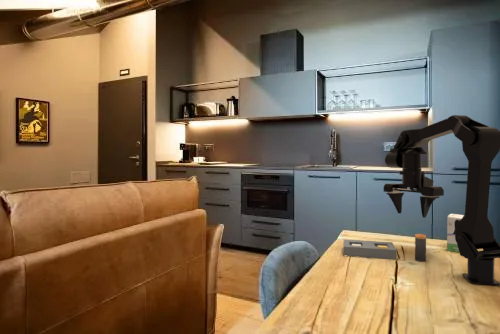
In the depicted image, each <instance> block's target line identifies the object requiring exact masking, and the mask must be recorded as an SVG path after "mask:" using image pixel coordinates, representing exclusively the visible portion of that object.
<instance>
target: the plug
mask: <svg viewBox="0 0 500 334" xmlns="http://www.w3.org/2000/svg"><path fill="white" fill-rule="evenodd" d="M414 235H415V236H414V237H415V238H414V261H415V262H421V263H423V262H427V235H426V234H424V233H415V234H414Z"/></svg>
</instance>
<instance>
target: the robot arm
mask: <svg viewBox="0 0 500 334" xmlns="http://www.w3.org/2000/svg"><path fill="white" fill-rule="evenodd" d="M450 134H453V135H454V137H455V138H456V139H458V140H460V141H461V145H462V152H463V154H464V156H465V158H466V159H467V162H468V164H467V179H466V191H465V206H464V207H465V208H464V214H463V215H464V216H463V218H462V219H459V220H455V223H454V224H455V230H454V233H453V234H454V235H455V240H456V242H457V245H458V249H459V252H458V253H459V255H460V256H461V257H462V258H465V259H467V273H466V272H465V273H464V272H462V273H461V274H462V276H463V277H464V278H465V279H466V280H467V281H468V282H469V283H471V284H476V285H478V284H479V285H486V286H487V285H488V286H489V285H490V286H500V282H499V281H498V280H496V279H495V259H500V243H499V241H497V239H496V238H495V236H494V227H493V225H492V223H491V221H490V219H489V217H488V213H489V199H490V187H491V186H490V185H491V175H492V163H493V161H494V159H495V158H496V157H497V155H498V154H499V152H500V130H499V129H498V128H496V127H493V126H492V127H491V126H489V125H488V124H485V123H482V122H480V121H477V120H474V119H472V118H471V117H470V116H467V115H465V114H464V115H462V114H453V115H450V116H448V117H447V118H444V119H442V120H439V121H437V122H434V123H432V124H429V125H427V126H424V127H421V128H415V129H414V128H412V129H405V130H401V132H400V134H399V136H398V138H397V140H396V142H395V144H394V146H393V148H389V152H388V153H387V154H386V155H385V158H384V162H385V165H386V166H387V167H388V168H392V169H393V168H394V169H395V168H396V169H401V170H402V171H399V175H402V176H401V178H402V179H401V183H396V182H391V183H384V185H383V192H384V193H386V195H388V197H389V198H390V200H391V202H392V204H393V206H394V209H396V212H397V214H402V211H403V209H402V207H403V196H404V195H405V192H406V193H416V194H421V196H419V202H420V212H421V216H422V218H423V219H424V218H427V215H428V213H429V211H430V208H431V206H432V204H433V202H435V200H436V199H440V197H442V196H443V197H444V196H445V190H444V188H443V187H442V186H438V185H437V186H436V185H434V180H433V179H432V178H429V177H427V176H425V170H424V171H422V155H427V154H428V153H427V151H426V150H425V149H423V147H424V146H426V145H428V144H429V143H430V142H431V141H432V140H435V139H438V138H441V137H443V136H444V137H445V136H447V135H450Z"/></svg>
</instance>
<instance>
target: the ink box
mask: <svg viewBox="0 0 500 334" xmlns="http://www.w3.org/2000/svg"><path fill="white" fill-rule="evenodd" d="M463 216H464V214H458V213H450V214H448V215H447V217H446V218H447V219H446V220H447V223H446V226H447V227H446V229H447V230H446V232H447V233H446V237H447V238H446V240H447V241H446V251H448V252H454V251H455V253H459V249H458V245H457V242H456V240H455V235H454V234H453V233H454V230H455V224H454V223H455V220H459V219H462V218H463Z"/></svg>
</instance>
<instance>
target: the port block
mask: <svg viewBox="0 0 500 334" xmlns="http://www.w3.org/2000/svg"><path fill="white" fill-rule="evenodd" d="M395 246H396V245H394V242H393V241H378V240H377V241H376V240H374V241H373V240H360V239H359V240H357V239H343V256H344V255H347V256H346V257H354V256H359V257H358V258H368V257H370V259H384V260H387V259H388V260H397V257H398V256H397V251H398V249H397V248H396V247H395Z"/></svg>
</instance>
